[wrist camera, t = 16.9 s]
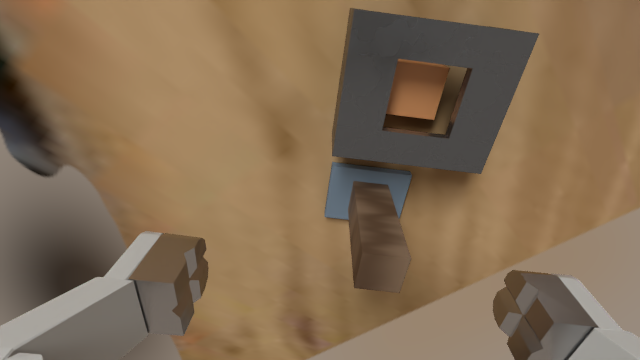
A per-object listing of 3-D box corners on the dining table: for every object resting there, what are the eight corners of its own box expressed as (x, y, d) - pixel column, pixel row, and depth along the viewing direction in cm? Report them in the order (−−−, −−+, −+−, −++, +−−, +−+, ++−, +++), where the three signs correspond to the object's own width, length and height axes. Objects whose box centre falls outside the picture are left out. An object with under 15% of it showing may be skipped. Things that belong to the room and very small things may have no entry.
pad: (409, 171, 36) (411, 175, 35) (395, 220, 40) (397, 225, 39) (332, 162, 36) (332, 166, 35) (324, 212, 40) (324, 216, 39)
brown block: (388, 184, 36) (411, 258, 26) (380, 213, 38) (399, 292, 28) (353, 180, 36) (362, 253, 26) (347, 209, 38) (354, 287, 28)
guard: (501, 28, 29) (539, 33, 24) (458, 148, 35) (480, 173, 30) (350, 7, 29) (354, 9, 23) (332, 132, 34) (332, 156, 29)
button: (441, 63, 30) (449, 68, 28) (427, 112, 33) (434, 119, 30) (391, 57, 30) (396, 61, 28) (381, 106, 33) (384, 113, 30)
